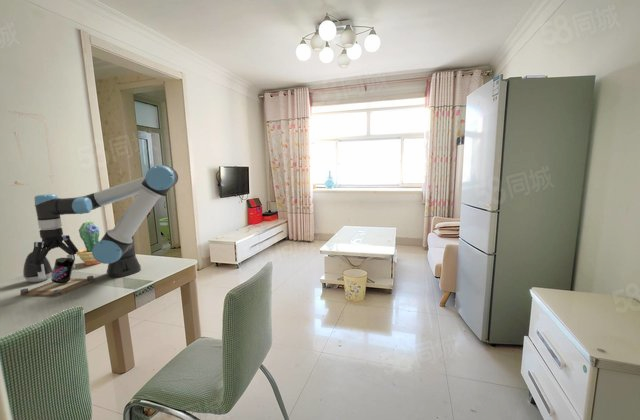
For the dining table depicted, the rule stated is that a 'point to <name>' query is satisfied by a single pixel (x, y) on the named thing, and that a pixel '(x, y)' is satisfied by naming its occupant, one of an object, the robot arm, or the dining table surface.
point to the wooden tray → (57, 287)
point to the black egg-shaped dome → (30, 270)
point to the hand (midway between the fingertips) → (57, 272)
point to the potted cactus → (88, 242)
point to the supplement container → (62, 270)
